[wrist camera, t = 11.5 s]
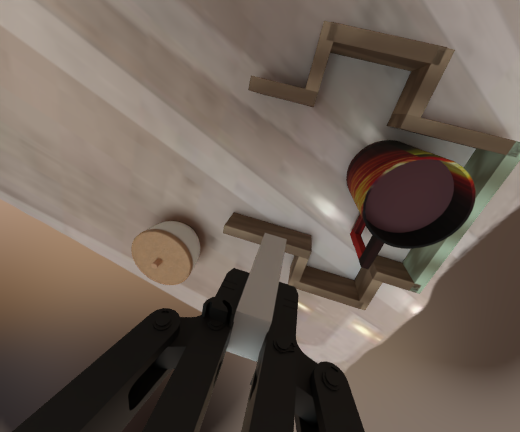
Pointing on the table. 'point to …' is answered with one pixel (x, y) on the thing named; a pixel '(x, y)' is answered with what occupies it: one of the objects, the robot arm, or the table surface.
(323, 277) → the trap lane
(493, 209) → the table surface
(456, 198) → the mug
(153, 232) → the lidded jar
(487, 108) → the table surface
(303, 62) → the table surface
